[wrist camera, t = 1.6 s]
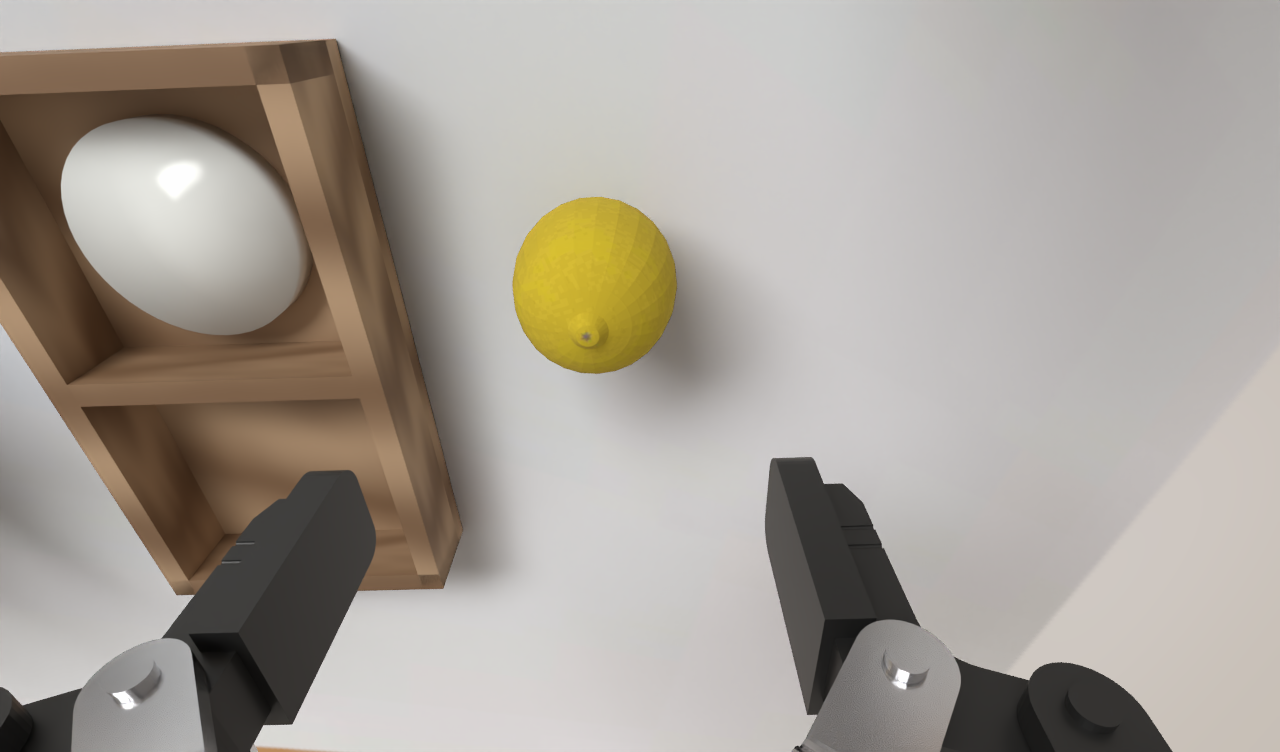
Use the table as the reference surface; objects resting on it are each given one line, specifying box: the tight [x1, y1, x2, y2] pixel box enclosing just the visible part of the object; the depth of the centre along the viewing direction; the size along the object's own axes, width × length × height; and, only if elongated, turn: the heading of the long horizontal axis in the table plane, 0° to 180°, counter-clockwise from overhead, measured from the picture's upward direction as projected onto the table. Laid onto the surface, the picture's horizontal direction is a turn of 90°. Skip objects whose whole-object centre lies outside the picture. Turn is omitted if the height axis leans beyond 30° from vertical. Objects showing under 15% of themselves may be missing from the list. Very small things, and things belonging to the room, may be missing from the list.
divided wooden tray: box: [0, 39, 463, 595], centre depth 25 cm, size 23×13×4 cm, turn 2°
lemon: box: [513, 197, 677, 374], centre depth 21 cm, size 6×6×8 cm
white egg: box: [61, 114, 313, 335], centre depth 23 cm, size 8×8×1 cm
